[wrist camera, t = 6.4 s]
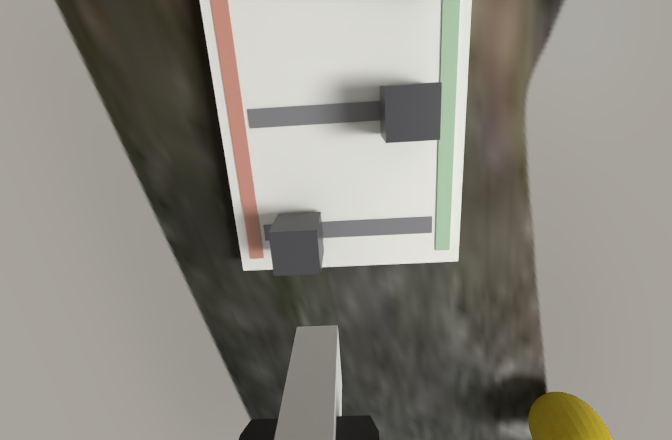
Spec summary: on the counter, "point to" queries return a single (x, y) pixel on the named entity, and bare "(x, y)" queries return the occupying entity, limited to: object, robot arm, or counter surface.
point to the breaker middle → (410, 112)
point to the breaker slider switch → (296, 244)
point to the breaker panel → (340, 123)
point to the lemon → (565, 419)
